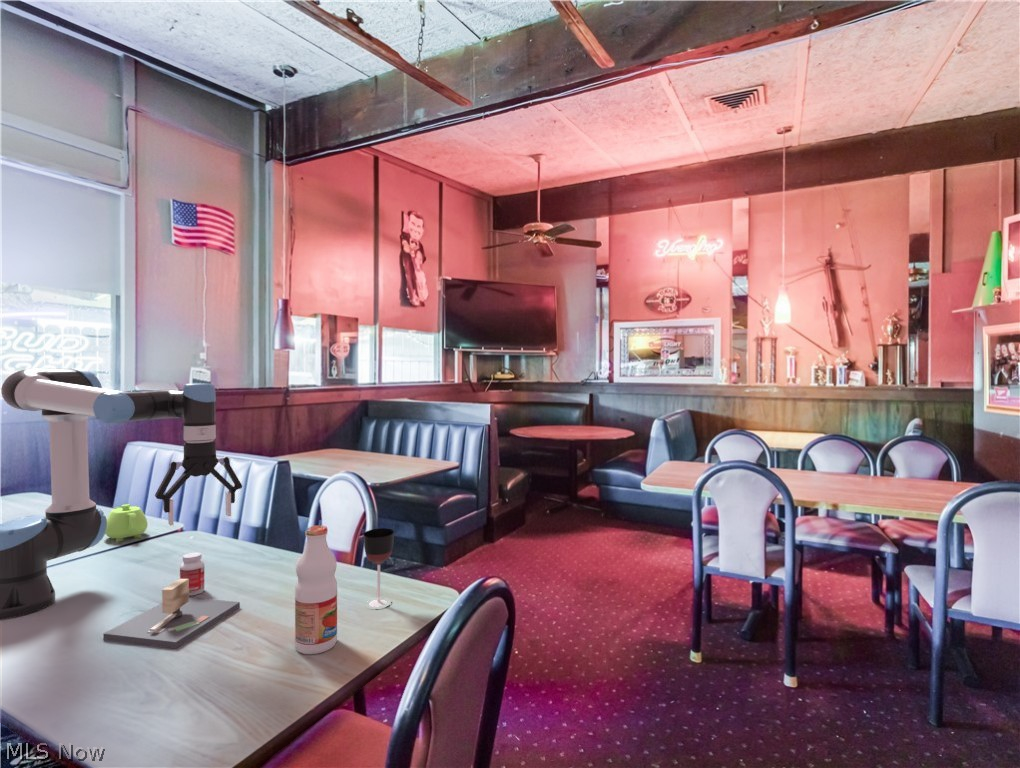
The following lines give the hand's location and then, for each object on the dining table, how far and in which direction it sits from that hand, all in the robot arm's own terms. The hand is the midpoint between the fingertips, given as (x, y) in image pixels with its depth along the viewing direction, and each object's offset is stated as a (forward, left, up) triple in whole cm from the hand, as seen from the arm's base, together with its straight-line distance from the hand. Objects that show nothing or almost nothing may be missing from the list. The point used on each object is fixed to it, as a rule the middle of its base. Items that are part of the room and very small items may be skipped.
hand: (200, 519), depth 144 cm
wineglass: (+45, +14, -25) cm, 53 cm away
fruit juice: (+40, -10, -25) cm, 48 cm away
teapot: (-74, +48, -25) cm, 92 cm away
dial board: (-1, -7, -25) cm, 26 cm away
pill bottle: (-11, +10, -25) cm, 29 cm away
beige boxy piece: (0, -10, -23) cm, 25 cm away
